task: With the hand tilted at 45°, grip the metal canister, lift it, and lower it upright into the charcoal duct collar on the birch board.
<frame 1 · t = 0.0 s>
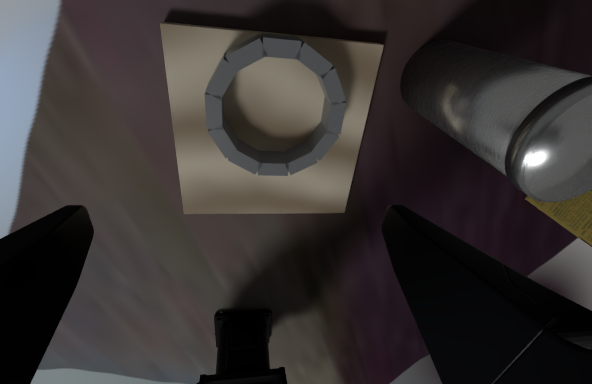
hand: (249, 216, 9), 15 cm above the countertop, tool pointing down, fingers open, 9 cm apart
duct collar: (273, 101, 22), resting on duct board
candy box: (566, 186, 32), on the countertop
metal canister: (433, 78, 23), on the countertop
duct board: (271, 133, 23), on the countertop
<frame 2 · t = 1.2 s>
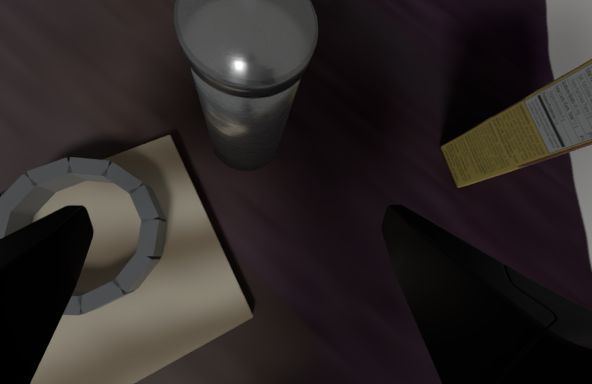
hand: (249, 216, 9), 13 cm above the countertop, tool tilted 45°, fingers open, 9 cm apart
duct collar: (98, 235, 20), resting on duct board
candy box: (484, 154, 27), on the countertop
metal canister: (245, 138, 24), on the countertop
duct board: (112, 269, 20), on the countertop
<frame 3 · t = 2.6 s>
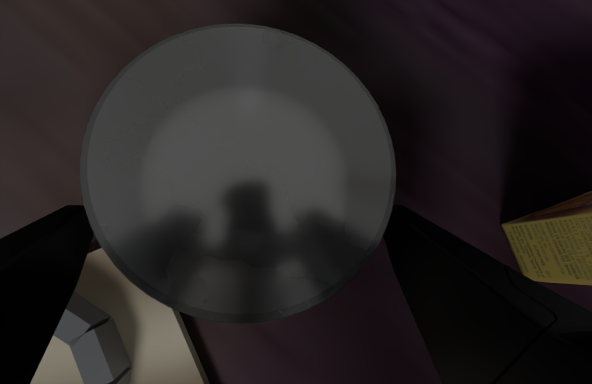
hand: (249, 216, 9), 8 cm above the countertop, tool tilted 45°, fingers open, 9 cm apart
candy box: (555, 230, 21), on the countertop
metal canister: (245, 226, 17), on the countertop
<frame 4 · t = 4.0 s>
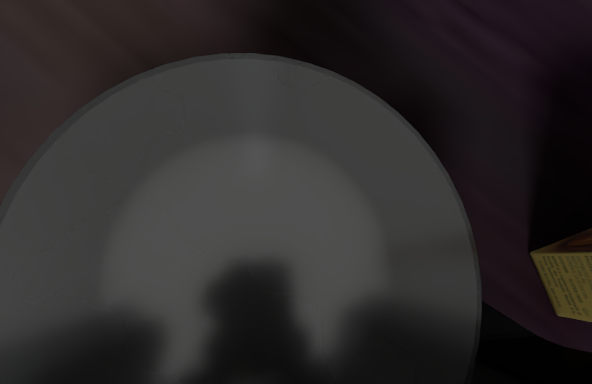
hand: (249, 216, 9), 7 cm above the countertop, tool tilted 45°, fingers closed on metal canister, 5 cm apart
candy box: (587, 258, 19), on the countertop
metal canister: (246, 259, 15), on the countertop, touching gripper
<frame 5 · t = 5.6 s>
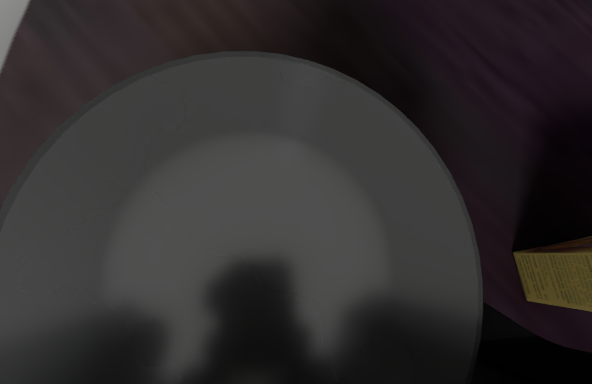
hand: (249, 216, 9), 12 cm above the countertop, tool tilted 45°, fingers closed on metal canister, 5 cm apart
candy box: (557, 264, 25), on the countertop
metal canister: (246, 258, 15), point 6 cm above the countertop, touching gripper
when the fingers open (9 cm above the countertop, at t = 7.5 s): metal canister drops 1 cm, resting on duct board.
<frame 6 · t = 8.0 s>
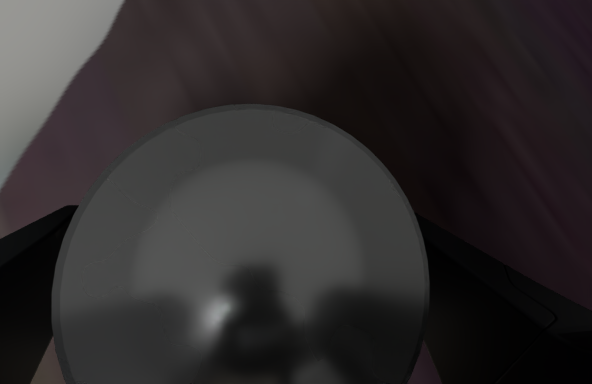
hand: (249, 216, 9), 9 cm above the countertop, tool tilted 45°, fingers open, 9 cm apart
metal canister: (246, 259, 16), point 1 cm above the countertop, touching duct board
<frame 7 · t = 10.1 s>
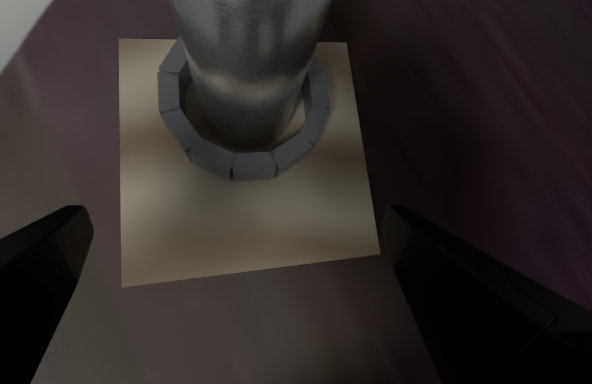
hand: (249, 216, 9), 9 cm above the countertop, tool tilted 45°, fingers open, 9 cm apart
duct collar: (246, 114, 19), resting on duct board
metal canister: (247, 108, 18), point 1 cm above the countertop, touching duct board
duct board: (249, 152, 19), on the countertop
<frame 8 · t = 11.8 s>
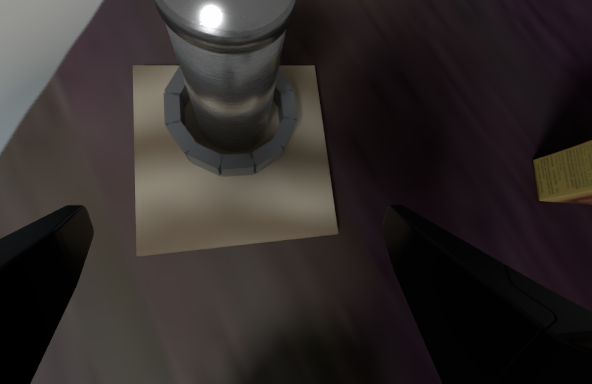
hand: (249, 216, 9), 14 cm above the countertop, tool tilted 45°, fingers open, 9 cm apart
duct collar: (233, 124, 24), resting on duct board
candy box: (570, 182, 29), on the countertop
metal canister: (233, 119, 23), point 1 cm above the countertop, touching duct board
duct board: (236, 154, 24), on the countertop
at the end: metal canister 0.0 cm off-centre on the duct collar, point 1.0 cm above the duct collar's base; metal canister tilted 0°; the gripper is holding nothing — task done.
